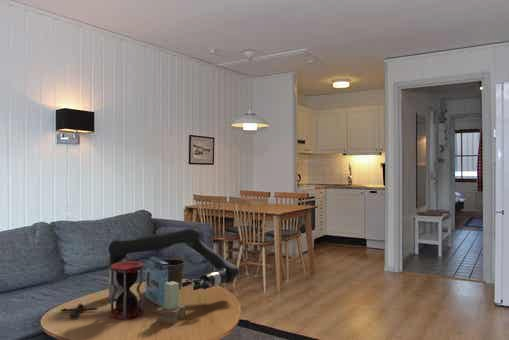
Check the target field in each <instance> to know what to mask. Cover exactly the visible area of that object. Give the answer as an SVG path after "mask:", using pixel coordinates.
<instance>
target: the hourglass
mask: <svg viewBox="0 0 509 340" xmlns="http://www.w3.org/2000/svg"><path fill="white" fill-rule="evenodd" d="M143 268H144V263H142V262H140V261H126V262H119V263H115V264H112V265H111V266H110V270H111V284H112V286H113V287H114V293H113V294H112V296H111V300H110V312H109V316H110V317H111V318H112V319H115V320H131V319H135V318H137V317H140V316H141V315H143V313H144V308H143V294H142V292H141V290H140V288H141V285H142V284H143V280H144V279H143V277H144V275H143V273H144V272H143V271H144V269H143ZM114 271H115V272H116V280H117V282H118V283H119V285H121V286H122V287H123V288H124V291H123V292H122V293H121V294H120V295H119V297H118V298H117V300H115V301H116V302H115V308H114V300H113V297H114V295H115V294H116V292H117V287H116V286H115V285H114V282H113V275H114ZM139 271H140V272H139ZM139 275H140V276H139ZM138 277H139V278H140V279H139V280H140V281H139V283H138V284H137V285H136V291H137V293H138V294H139V295H138V296H139V302H138V297H137V296H136V295H135V293H133V291H132V290H131V288H132V287H133V285H134V284H135V283H136V282H137V280H138ZM138 303H139V304H138Z"/></svg>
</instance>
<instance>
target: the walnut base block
mask: <svg viewBox="0 0 509 340" xmlns="http://www.w3.org/2000/svg"><path fill="white" fill-rule="evenodd" d="M186 312H187V311H186V305H183V304H178V308H175V309H171V310H169V309H166V308H164V306H161V307H158V308H157V309H156V322H159V323H164V324H170V325H176V324H177V323H179V322H180V321H182V320H183V319H185V318H186Z"/></svg>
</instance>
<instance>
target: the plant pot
mask: <svg viewBox="0 0 509 340" xmlns="http://www.w3.org/2000/svg"><path fill="white" fill-rule="evenodd" d="M162 261H164V262H167V263H169V264H168V282H172V281H174V282H177V283H179V290H180V289H181V288H183V287H182V283H183V275H184V274H183V273H184V272H183V271H184V266H185V263H186V261H185V260H183V259H177V258H171V259H164V260H162Z"/></svg>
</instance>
